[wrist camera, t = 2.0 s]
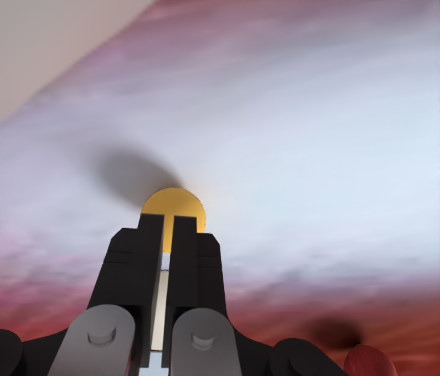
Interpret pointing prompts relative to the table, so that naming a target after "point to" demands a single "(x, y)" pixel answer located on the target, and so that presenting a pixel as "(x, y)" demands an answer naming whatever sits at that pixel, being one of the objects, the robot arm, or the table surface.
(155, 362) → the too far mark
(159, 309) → the disc
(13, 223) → the table surface
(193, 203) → the ball
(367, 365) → the onion
